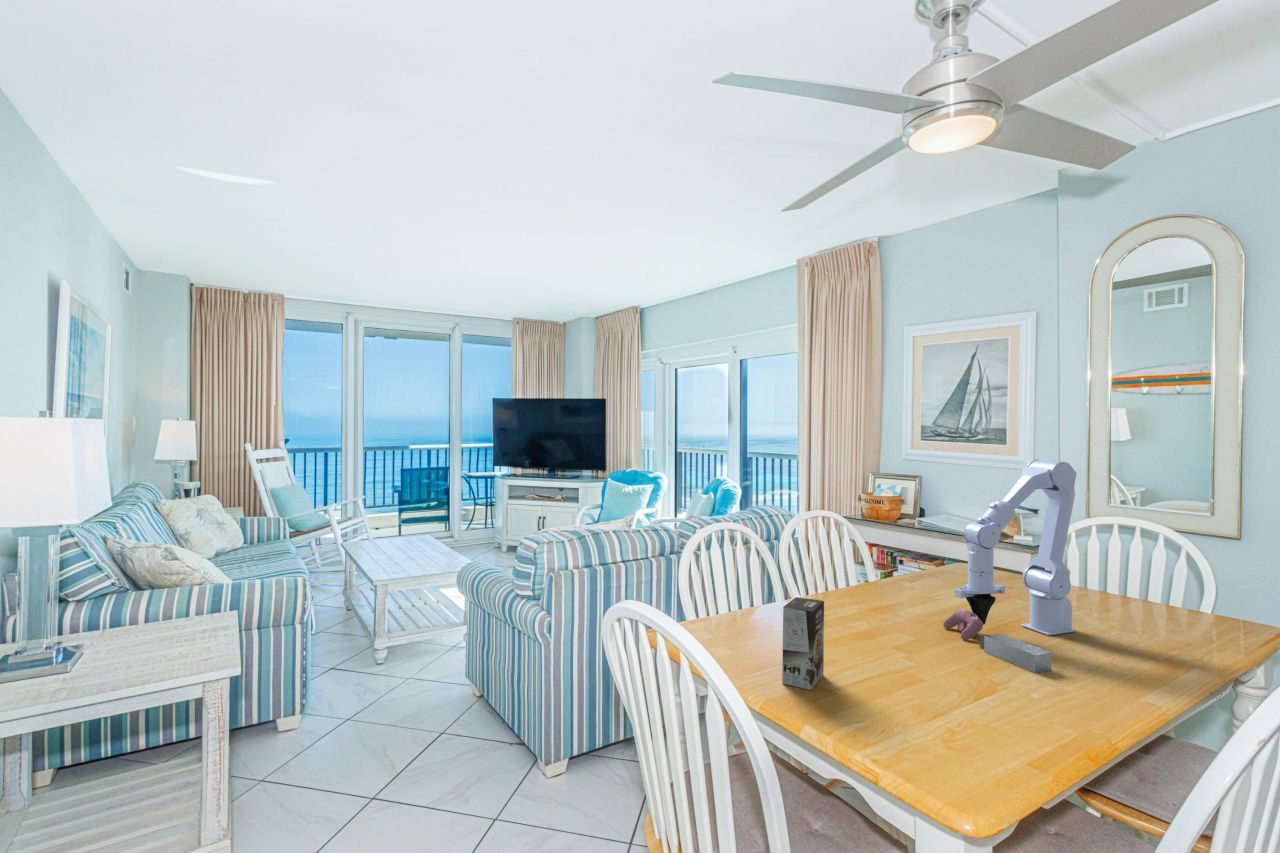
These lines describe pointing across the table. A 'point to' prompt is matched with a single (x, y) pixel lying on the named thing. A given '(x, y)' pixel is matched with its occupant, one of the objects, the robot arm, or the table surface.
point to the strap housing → (1017, 652)
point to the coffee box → (803, 643)
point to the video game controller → (964, 623)
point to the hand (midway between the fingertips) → (979, 623)
